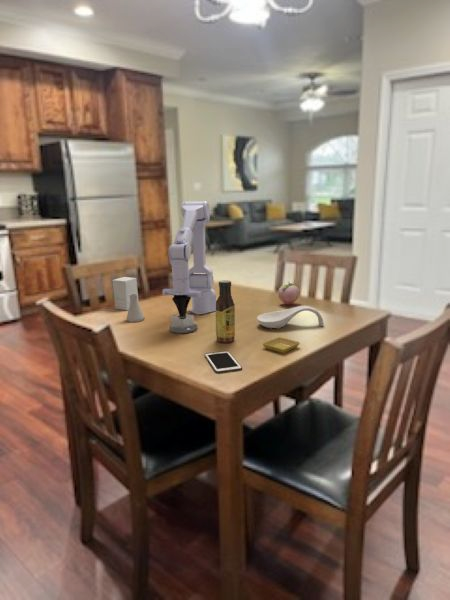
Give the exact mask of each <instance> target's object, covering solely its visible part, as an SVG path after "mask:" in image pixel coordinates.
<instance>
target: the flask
mask: <svg viewBox="0 0 450 600" xmlns="http://www.w3.org/2000/svg"><path fill="white" fill-rule="evenodd" d="M137 295H138V296H139V293H138V294H130V295H129V297H130V307H129V310H127V311H128V312H127V315H126V319H125V321H126V322H130V323H135V322H141V321H144V320H145V315H144V314H143V311H142V309H141V307H140V305H139V304H140V303H139V304H138V302H139V300H138V301H137Z"/></svg>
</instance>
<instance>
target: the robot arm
mask: <svg viewBox="0 0 450 600" xmlns="http://www.w3.org/2000/svg"><path fill="white" fill-rule="evenodd" d="M180 207H181V208H180V209H181V210H180V212H181V215H182V218H183V220H182V224H181V228H178V230H177V232H176V235H175V237H174V240H173V243H172V244H171V245H169V247H168V253H167V254H168V258H169V264H170V266H171V271H172V272H171V273H172V274H171V275H172V277H171V278H172V288H163V289H162V296H173V297H172V302H173V303H174V304H175V306H176V309H177V311H178V314H179V315H180V316H181V317H184V316H185V315H186V314H187V311H189V312H191V313H193V314H196V315H199V316H200V315H204V314H207V313H213V312H216V301H217V294H216V293H217V292H216V291H215V289H213V287H214V282H215V281H214V275H213V270H212V269H211V268H210V267H208V266H207V265H206V225H207V224H209V223H210V219H211V214H210V213H211V209H210V208H211V207H210V204H209V202H208V201H207V200H202V201H185V200H184V201H183V202H182V204H181V205H180ZM192 242H193V243H192ZM191 244H193V266H192V267H190V268H189V266H190V265H189V260H190V258H191V251H192V250H191V249H192V248H191V247H192V246H191ZM191 300H192V302H191V305H192V308H190V309H188V307H189V303H190V301H191Z"/></svg>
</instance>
